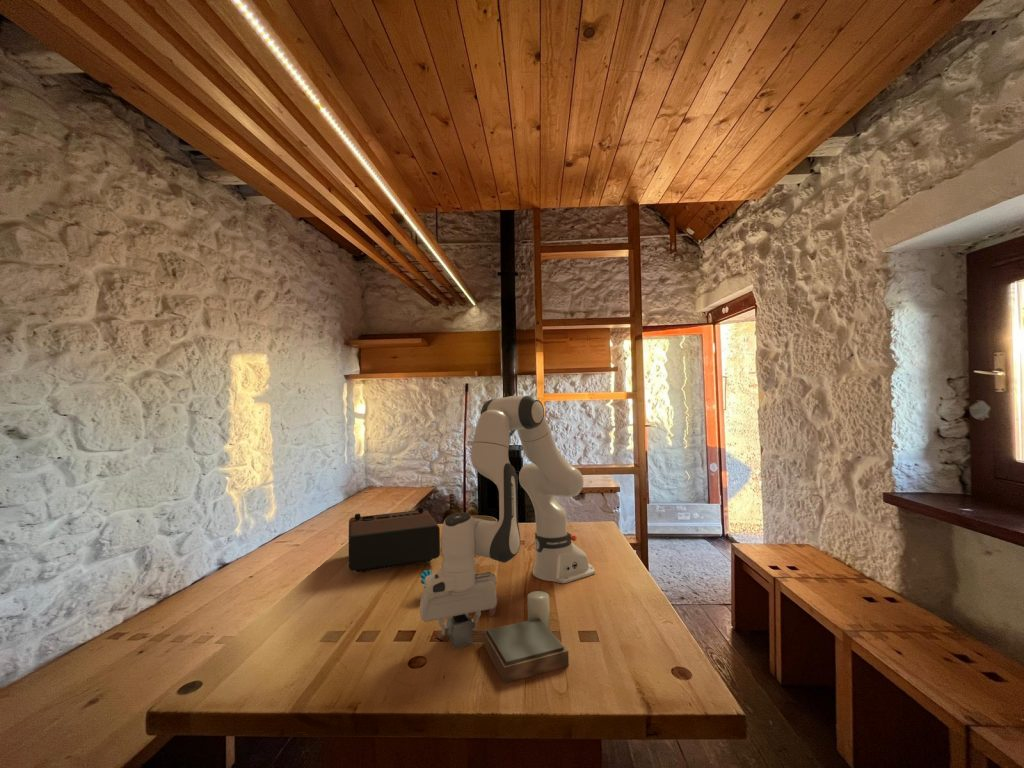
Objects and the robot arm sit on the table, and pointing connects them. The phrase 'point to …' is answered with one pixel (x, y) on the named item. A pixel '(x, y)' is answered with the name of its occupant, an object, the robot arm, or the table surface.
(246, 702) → the table surface
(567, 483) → the robot arm
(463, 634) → the housing
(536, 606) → the pale grey capsule
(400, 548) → the radio receiver
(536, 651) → the plinth
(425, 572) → the gear
